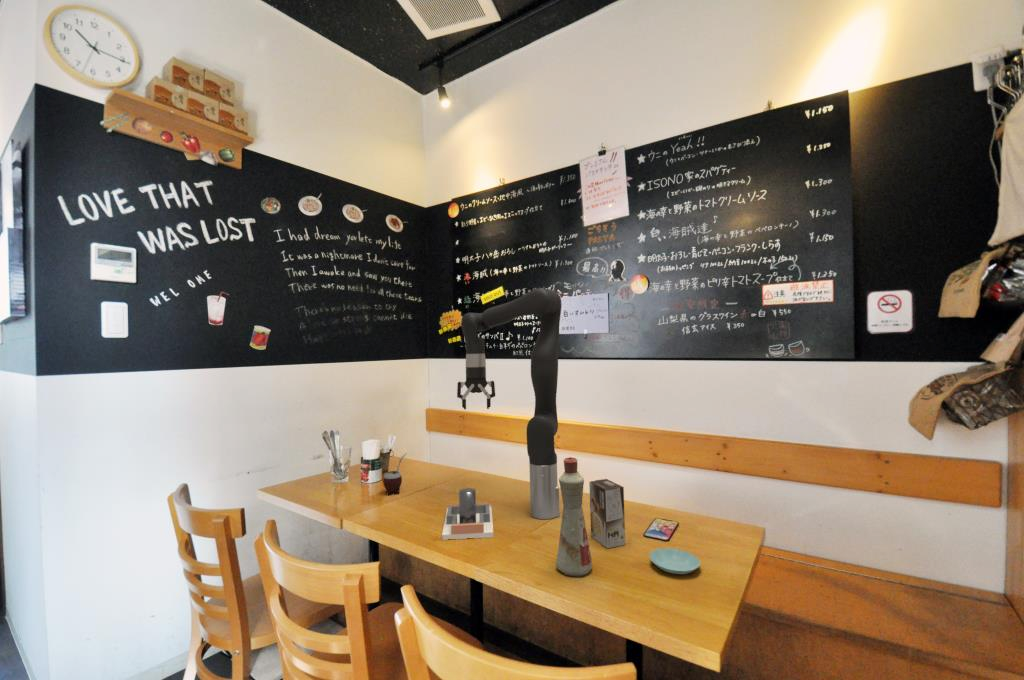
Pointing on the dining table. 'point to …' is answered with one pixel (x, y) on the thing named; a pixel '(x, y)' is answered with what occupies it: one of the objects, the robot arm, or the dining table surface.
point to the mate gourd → (393, 480)
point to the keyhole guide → (468, 524)
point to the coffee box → (607, 513)
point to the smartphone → (661, 529)
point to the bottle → (573, 524)
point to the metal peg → (467, 505)
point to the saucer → (674, 561)
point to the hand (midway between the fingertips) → (476, 408)
